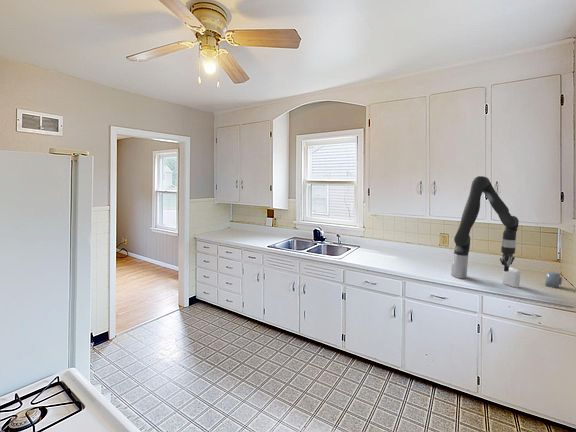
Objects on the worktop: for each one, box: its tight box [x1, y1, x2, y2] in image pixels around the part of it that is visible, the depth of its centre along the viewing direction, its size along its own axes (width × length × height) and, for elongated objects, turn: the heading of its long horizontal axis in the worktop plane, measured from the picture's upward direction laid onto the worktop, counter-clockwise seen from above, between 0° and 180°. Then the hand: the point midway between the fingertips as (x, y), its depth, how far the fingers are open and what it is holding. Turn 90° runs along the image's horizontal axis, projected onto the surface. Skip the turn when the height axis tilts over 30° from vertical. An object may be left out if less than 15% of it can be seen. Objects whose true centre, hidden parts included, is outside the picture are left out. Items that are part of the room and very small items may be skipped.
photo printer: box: [502, 266, 521, 289], centre depth 205 cm, size 10×4×12 cm, turn 14°
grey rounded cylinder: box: [544, 271, 563, 289], centre depth 203 cm, size 8×7×9 cm
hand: (506, 271), depth 202 cm, fingers closed
